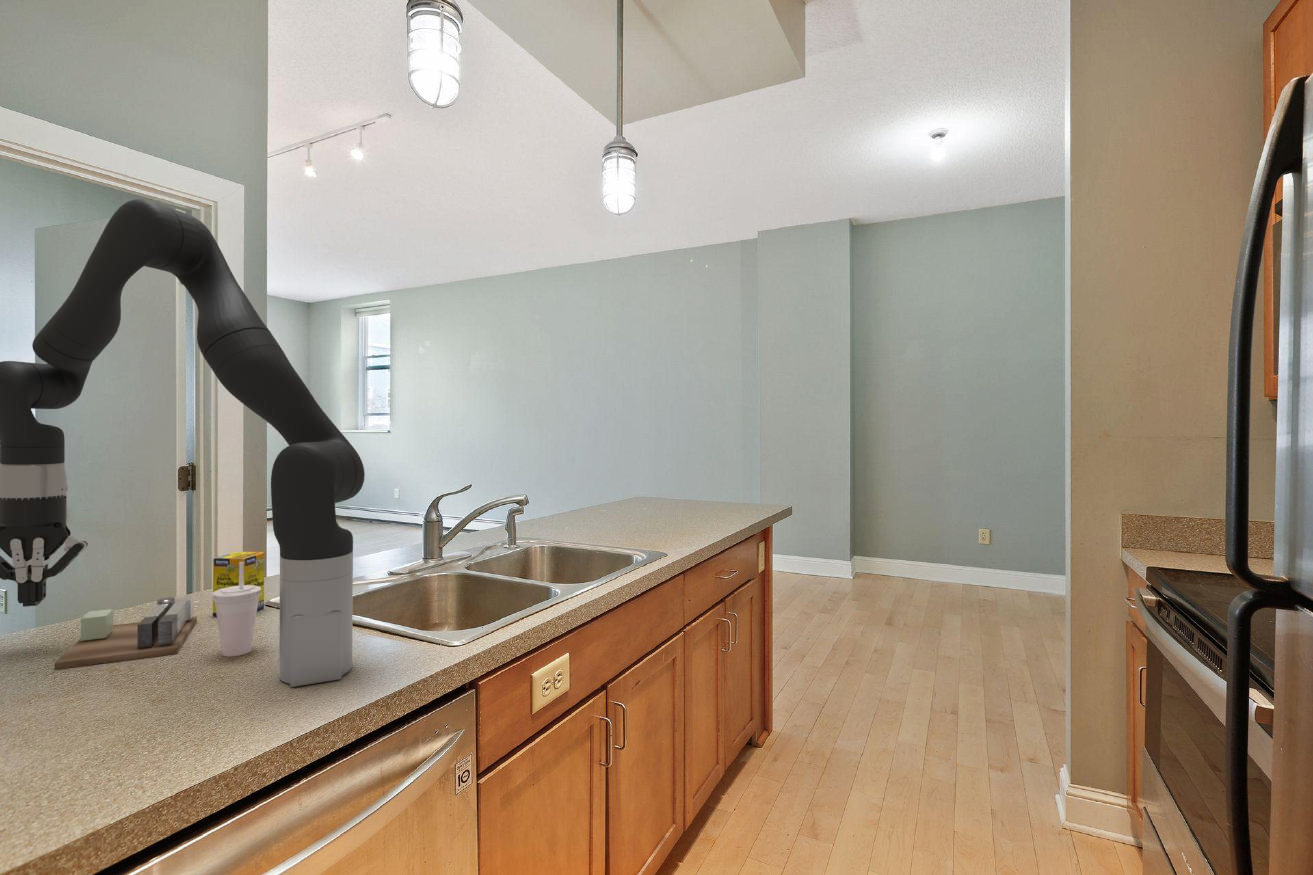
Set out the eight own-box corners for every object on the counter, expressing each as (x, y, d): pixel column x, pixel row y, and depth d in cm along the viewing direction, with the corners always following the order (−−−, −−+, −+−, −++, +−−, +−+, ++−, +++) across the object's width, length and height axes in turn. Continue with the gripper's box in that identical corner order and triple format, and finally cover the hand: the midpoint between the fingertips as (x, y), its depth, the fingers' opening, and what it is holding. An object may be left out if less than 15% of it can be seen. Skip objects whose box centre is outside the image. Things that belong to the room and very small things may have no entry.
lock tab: (105, 637, 98) (105, 615, 98) (80, 640, 96) (80, 618, 96) (113, 630, 101) (113, 609, 101) (89, 632, 100) (89, 611, 100)
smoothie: (266, 652, 96) (267, 562, 96) (217, 663, 91) (217, 569, 91) (254, 641, 101) (255, 556, 100) (207, 651, 96) (207, 562, 96)
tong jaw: (151, 646, 95) (151, 623, 94) (137, 648, 94) (137, 624, 94) (169, 624, 105) (169, 603, 105) (156, 625, 104) (156, 604, 104)
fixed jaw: (175, 644, 96) (175, 619, 96) (136, 649, 94) (136, 623, 94) (193, 617, 109) (193, 595, 109) (158, 621, 107) (158, 598, 106)
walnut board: (176, 653, 95) (176, 647, 95) (54, 669, 88) (54, 662, 88) (196, 621, 110) (196, 615, 110) (93, 632, 103) (93, 627, 103)
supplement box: (244, 618, 112) (244, 558, 112) (211, 617, 112) (211, 557, 112) (265, 608, 118) (265, 551, 118) (234, 607, 118) (234, 550, 118)
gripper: (-42, 497, 88) (-42, 617, 89) (81, 494, 94) (80, 606, 95) (-16, 491, 95) (-16, 603, 95) (97, 489, 101) (96, 594, 102)
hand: (32, 604), depth 95 cm, fingers closed
